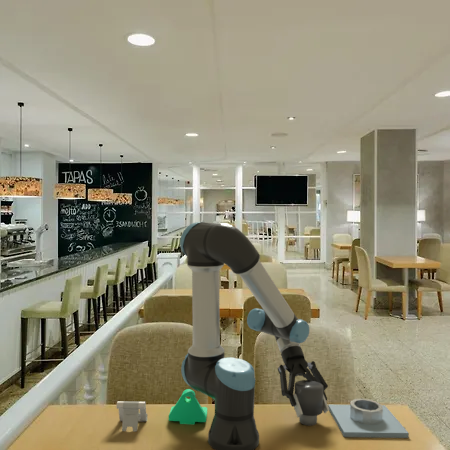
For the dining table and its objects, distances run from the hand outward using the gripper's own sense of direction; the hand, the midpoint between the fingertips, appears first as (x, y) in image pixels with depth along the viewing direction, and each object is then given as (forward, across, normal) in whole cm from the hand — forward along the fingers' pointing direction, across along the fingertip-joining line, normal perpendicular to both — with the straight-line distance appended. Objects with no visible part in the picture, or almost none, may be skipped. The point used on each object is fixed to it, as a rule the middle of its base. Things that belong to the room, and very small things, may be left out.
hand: (313, 413), depth 148 cm
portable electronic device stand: (-10, +55, -16) cm, 58 cm away
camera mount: (-9, +37, -15) cm, 41 cm away
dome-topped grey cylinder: (+1, 0, -5) cm, 5 cm away
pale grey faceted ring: (+4, -18, +1) cm, 18 cm away
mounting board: (+5, -18, 0) cm, 19 cm away
